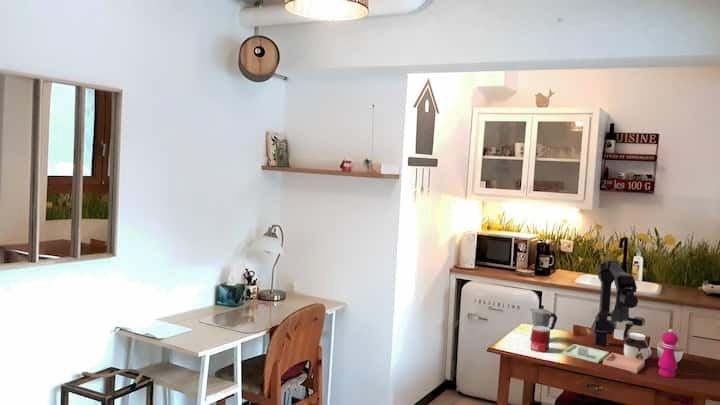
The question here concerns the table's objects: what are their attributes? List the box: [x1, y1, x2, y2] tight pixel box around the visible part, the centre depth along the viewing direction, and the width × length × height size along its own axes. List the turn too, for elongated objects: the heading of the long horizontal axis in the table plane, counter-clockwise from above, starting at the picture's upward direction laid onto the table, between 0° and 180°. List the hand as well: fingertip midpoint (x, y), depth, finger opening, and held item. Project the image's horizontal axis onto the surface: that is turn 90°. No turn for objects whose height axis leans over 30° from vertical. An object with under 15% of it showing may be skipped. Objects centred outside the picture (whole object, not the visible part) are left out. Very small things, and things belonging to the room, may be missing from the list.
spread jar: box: [623, 332, 652, 361], centre depth 275 cm, size 12×11×12 cm
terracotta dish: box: [602, 352, 646, 375], centre depth 265 cm, size 14×14×2 cm
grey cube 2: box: [578, 345, 590, 357], centre depth 273 cm, size 4×4×4 cm
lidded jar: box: [656, 341, 685, 363], centre depth 273 cm, size 11×11×9 cm
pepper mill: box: [657, 328, 679, 378], centre depth 255 cm, size 7×7×20 cm
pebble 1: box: [613, 327, 627, 341], centre depth 268 cm, size 4×4×4 cm
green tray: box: [561, 344, 610, 364], centre depth 276 cm, size 16×16×2 cm
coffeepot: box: [529, 305, 558, 341], centre depth 294 cm, size 15×9×18 cm, turn 37°
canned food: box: [530, 325, 551, 353], centre depth 279 cm, size 8×8×11 cm
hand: (619, 336), depth 268 cm, fingers closed on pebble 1, 4 cm apart
